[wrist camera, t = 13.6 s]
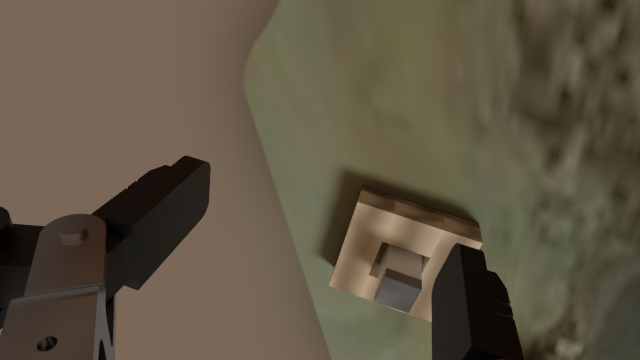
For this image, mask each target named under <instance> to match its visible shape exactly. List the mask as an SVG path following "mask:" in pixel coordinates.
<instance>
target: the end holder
mask: <svg viewBox="0 0 640 360" xmlns="http://www.w3.org/2000/svg"><path fill="white" fill-rule="evenodd" d="M456 243H460V244H463V245H466V246H469V247H472V248H475V249H478V250H479V249H480V247H481V245H482V244H483V241H482V236H481V232H480V227H479V224H477V223H474V222H471V221H468V220H465V219H462V218H459V217H456V216H453V215H450V214H447V213H444V212H441V211H437V210H434V209H431V208H428V207H425V206H422V205H419V204H416V203H413V202H410V201H407V200H404V199H401V198H397V197H394V196H391V195H388V194H385V193H382V192H379V191H376V190H373V189H370V188H367V187H364V186H362V189H361V192H360V195H359V198H358V200H357V203H356V206H355V209H354V212H353V215H352V218H351V221H350V224H349V227H348V230H347V233H346V235H345V238H344V241H343V244H342V247H341V250H340V253H339V256H338V259H337V262H336V265H335V268H334V271H333V274H332V277H331V281H330V284H329V286H331V287H333V288H336V289H339V290H342V291H345V292H347V293H350V294H353V295H356V296H359V297H362V298H364V299H367V300H370V301H373V302H376V301H374V297H375V291H376V287H377V281H378V274H379V268H380V262H381V258H382V256H383V253H384V251H385V249H386V247H387V244H391V245H394V246H397V247H400V248H403V249H406V250H409V251H412V252H415V253H418V254H421V255H422V279H421V280H422V290H421V292H420V294H419V296H418V297H417V299H416V301H415V303H414V305H413V306H412V308H411V310H410V312H409V313H407V314H410V315H412V316H415V317H418V318H421V319H424V320H426V321H429V322H432V303H431V296H432V289H433V285H434V282H435V279H436V277H437V275H438V273H439V271H440V269H441V268H442V266H443V264H444V262H445V260H446V258H447V257H448V255H449V253H450V251H451V249H452V247H453V246H454V245H455V244H456ZM376 303H378V302H376ZM378 304H381V303H378ZM381 305H384V304H381ZM384 306H387V305H384ZM387 307H390V306H387ZM390 308H392V307H390ZM393 309H395V308H393ZM395 310H398V309H395ZM398 311H401V310H398ZM401 312H403V311H401ZM404 313H406V312H404Z"/></svg>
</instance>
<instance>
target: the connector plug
mask: <svg viewBox="0 0 640 360" xmlns="http://www.w3.org/2000/svg"><path fill="white" fill-rule="evenodd" d="M421 279H422V255H421V254H418V253H415V252H412V251H409V250H406V249H403V248H400V247H397V246H394V245H391V244H387V247H386V249H385V251H384V253H383V256H382V258H381V262H380V268H379V274H378V281H377V287H376V291H375V297H374V301H376V302H378V303H381V304H384V305H387V306H390V307H392V308H395V309H398V310H401V311H403V312H406V313H409V312H410V310H411V308H412V306H413V305H414V303H415V301H416V299H417V297H418V296H419V294H420V292H421V290H422V280H421Z"/></svg>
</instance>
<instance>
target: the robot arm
mask: <svg viewBox="0 0 640 360" xmlns="http://www.w3.org/2000/svg"><path fill="white" fill-rule="evenodd" d="M209 188H210V164H209V163H208V162H205V161H202V160H199V159H196V158H193V157H190V156H184V157H182V158H181V159H180V160H178V161H177V162H176V163H175V164H173V165H172V166H167V165H164V166H162V167H159V168H156V169H153V170H150V171H149V172H147V173H146V174H145V175H143V176H142V177H141V178H139V179H138V181H135V182H134V183H133V184H131V185H130V186H129V187H128V189H124V190H123V191H122V192H120V193H119V194H118V195H116V196H115V197H114V198H112V199H111V200H110V201H108V202H107V203H106V204H104V205H103V206H102V207H100V208H99V209H97V210H96V211H95V212H93V213H92V214H91V215H89V214H72V215H67V216H63V217H60V218H58V219H56V220H54V221H52V222H50V223H49V224H47V225H46V226H34V225H33V226H32V225H21V224H12V221H11V218H10V215H9V213H8V211H7V210H6V209H4V208H2V207H0V329H1V328H2V331H1V335H0V360H115V334H116V293H117V292H118V291H119V289H120V288H121V287H122V286H123V285H125V286H128V287H130V288H133V289H136V290H139V289H140V288H141V286H142V285H143V284H144V283H145V282H146V281H147V280H148V279H149V277H150V276H151V275H152V274H153V273H154V272H155V271H156V270H157V268H158V267H159V266H160V265H161V264H162V263H163V262H164V260H165V259H166V258H167V257H168V256H169V255H170V254H171V253H172V252H173V250H174V249H175V248H176V247H177V246H178V245H179V244H180V242H181V241H182V240H183V239H184V238H185V237H186V236H187V235H188V233H189V232H190V231H191V230H192V229H193V228H194V227H195V225H196V224H197V223H198V222H199V221H200V220H201V219H202V217H203V216H204V214H205V212H206V210H207V207H208V203H209ZM431 303H432V360H524V357H523V353H522V349H521V345H520V341H519V337H518V333H517V329H516V325H515V321H514V319H513V313H512V309H511V307H510V301H509V297H508V293H507V288H506V287H505V285H504V284H503V283H502V281H501V280H500V278H499V277H498V275H497V274H496V273H495V272H491V271H488V270H487V267H486V261H485V256H484V253H483V251H481V250H478V249H475V248H472V247H469V246H466V245H463V244H460V243H456V244H455V245H454V246H453V247H452V249H451V251H450V253H449V255H448V257H447V258H446V260H445V262H444V264H443V266H442V268H441V269H440V271H439V273H438V275H437V277H436V279H435V282H434V285H433V289H432V296H431Z"/></svg>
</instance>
